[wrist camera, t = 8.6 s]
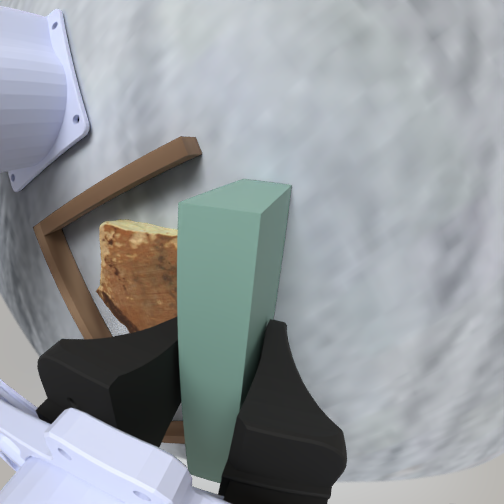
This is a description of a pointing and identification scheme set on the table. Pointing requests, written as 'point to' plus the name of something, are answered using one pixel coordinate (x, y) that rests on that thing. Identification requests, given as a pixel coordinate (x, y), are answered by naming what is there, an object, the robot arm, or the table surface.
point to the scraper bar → (224, 307)
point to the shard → (138, 272)
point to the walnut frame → (87, 201)
